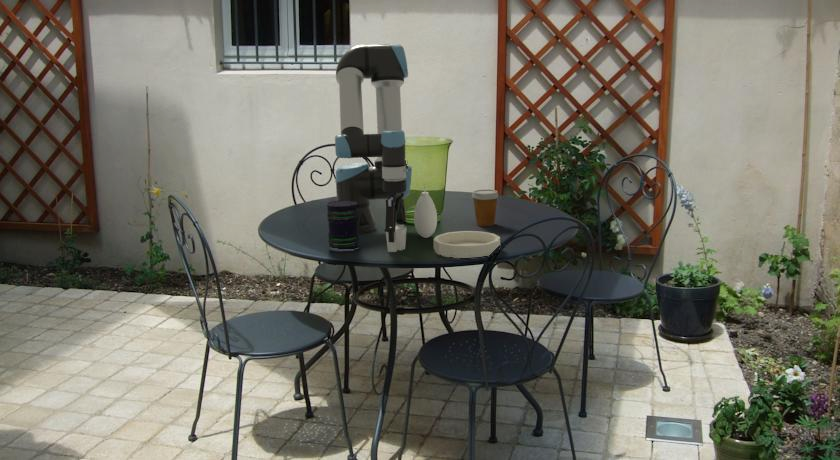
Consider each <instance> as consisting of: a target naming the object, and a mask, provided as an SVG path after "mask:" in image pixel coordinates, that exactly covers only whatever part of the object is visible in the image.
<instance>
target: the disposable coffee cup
mask: <svg viewBox="0 0 840 460" xmlns="http://www.w3.org/2000/svg"><path fill="white" fill-rule="evenodd" d="M471 197H472V198H473V199H472V200H473V205H474V206H473V208H474V213H475V221H476V222H475V223H476V225H477V226H479V227H492V226H495V221H496V213H497V212H496V211H497V203H498V198H499V193H498V190H496V189H477V190H473V191H472V194H471Z"/></svg>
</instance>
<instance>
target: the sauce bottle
mask: <svg viewBox="0 0 840 460" xmlns="http://www.w3.org/2000/svg"><path fill="white" fill-rule="evenodd" d="M423 187H424V188H423V192H421V193H420V196H419V198H418V199H417V201H416V204H415V207H414V213H413V222H414V227H415V230H416V232H417V234H418V235H420V236H421V237H422V238H425V239H427V238H429V237H431V236H432V235H433V234H435V231H436V230H437V225H438V214H437V209H436V208H437V207H436V206H435V203H434V201H433V198H432V197H431V195H430V193H429V192H428V191H426V184H424V185H423Z"/></svg>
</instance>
